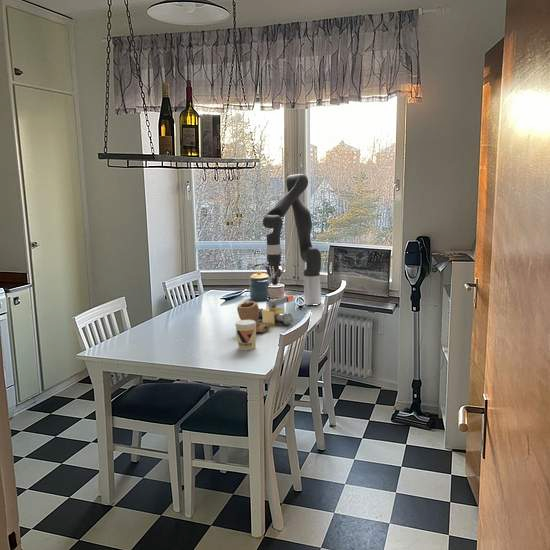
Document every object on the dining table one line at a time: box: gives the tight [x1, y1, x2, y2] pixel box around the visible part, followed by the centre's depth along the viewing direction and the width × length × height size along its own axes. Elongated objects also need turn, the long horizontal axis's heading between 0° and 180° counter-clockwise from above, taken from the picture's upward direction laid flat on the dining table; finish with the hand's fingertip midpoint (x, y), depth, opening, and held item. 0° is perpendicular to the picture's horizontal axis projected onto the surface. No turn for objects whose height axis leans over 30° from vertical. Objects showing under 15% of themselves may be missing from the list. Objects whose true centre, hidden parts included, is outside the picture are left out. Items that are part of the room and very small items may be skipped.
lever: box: [268, 294, 294, 308], centre depth 302 cm, size 17×4×3 cm, turn 140°
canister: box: [248, 270, 271, 302], centre depth 352 cm, size 13×13×18 cm
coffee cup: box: [235, 319, 257, 351], centre depth 259 cm, size 9×9×12 cm
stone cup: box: [237, 300, 272, 333], centre depth 283 cm, size 15×12×15 cm
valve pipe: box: [258, 306, 293, 327], centre depth 299 cm, size 20×8×9 cm, turn 50°
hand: (274, 284), depth 308 cm, fingers closed
